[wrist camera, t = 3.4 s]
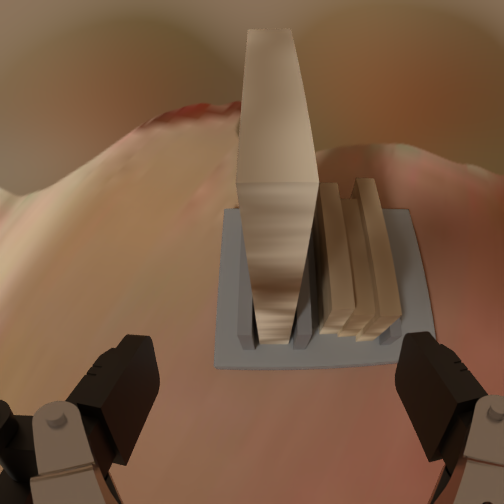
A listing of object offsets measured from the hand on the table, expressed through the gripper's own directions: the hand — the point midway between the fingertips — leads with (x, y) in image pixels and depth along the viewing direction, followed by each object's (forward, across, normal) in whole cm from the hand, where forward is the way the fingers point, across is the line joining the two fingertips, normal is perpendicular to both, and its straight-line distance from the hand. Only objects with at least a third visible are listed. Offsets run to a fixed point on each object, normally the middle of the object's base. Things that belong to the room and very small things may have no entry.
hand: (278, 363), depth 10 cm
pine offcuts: (+20, -6, +5) cm, 21 cm away
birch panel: (+20, 0, +5) cm, 20 cm away
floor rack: (+20, -5, +6) cm, 22 cm away
